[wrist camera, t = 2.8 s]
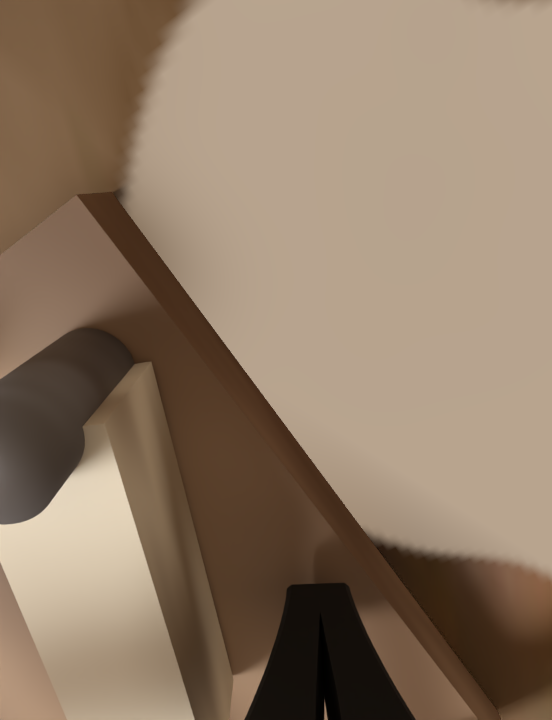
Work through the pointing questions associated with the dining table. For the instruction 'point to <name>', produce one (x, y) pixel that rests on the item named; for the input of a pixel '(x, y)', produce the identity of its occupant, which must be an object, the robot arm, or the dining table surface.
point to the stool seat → (210, 470)
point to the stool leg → (105, 538)
